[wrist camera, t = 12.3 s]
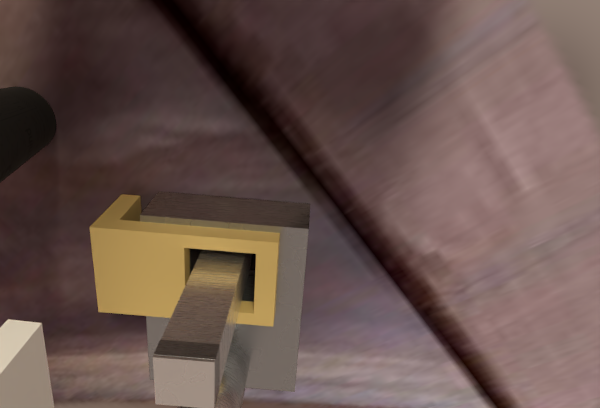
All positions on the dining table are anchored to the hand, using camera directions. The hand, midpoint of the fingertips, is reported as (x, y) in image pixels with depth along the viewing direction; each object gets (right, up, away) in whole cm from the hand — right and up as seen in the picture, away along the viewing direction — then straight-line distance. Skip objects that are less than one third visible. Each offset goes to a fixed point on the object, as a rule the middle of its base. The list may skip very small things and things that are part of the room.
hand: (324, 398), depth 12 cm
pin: (-6, +1, +30) cm, 30 cm away
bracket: (-9, +2, +29) cm, 31 cm away
